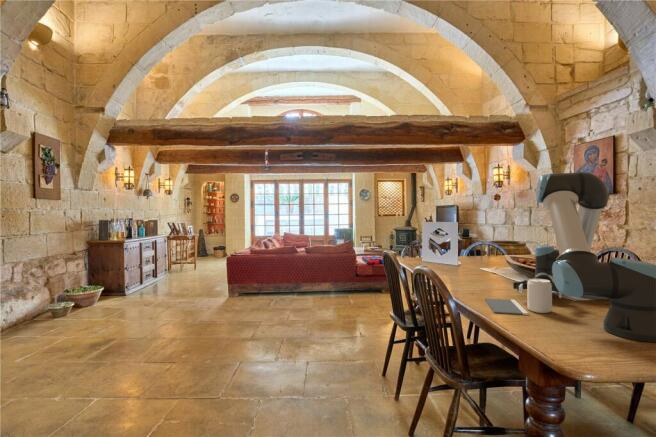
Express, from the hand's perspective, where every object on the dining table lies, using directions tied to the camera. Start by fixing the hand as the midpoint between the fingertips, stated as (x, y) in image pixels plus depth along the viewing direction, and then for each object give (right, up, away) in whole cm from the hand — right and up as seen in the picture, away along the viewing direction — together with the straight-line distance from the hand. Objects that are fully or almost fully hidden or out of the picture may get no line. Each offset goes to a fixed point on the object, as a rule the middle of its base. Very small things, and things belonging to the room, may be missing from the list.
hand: (539, 292), depth 132 cm
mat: (-12, -7, +3) cm, 14 cm away
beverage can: (-2, -7, -3) cm, 8 cm away
